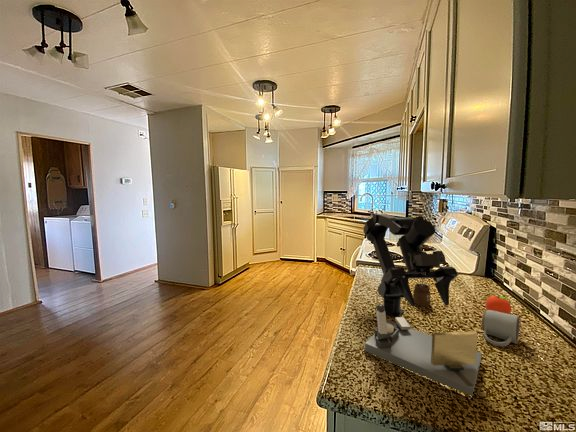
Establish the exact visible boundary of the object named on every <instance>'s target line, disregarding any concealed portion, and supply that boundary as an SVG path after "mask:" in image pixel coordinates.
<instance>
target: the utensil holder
mask: <svg viewBox="0 0 576 432" xmlns="http://www.w3.org/2000/svg"><path fill="white" fill-rule="evenodd" d="M419 280H421V283H420V282H418V283H415V284H414V289H413V291H412V292H413V294H412V296H413V299H414V303H415V305H417V306H421V307H428V306H430V304H431V291H430V290H431V287H430V285H428V284H426V283H427V281H426V278H419Z"/></svg>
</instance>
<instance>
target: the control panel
mask: <svg viewBox="0 0 576 432" xmlns="http://www.w3.org/2000/svg"><path fill="white" fill-rule="evenodd" d="M386 323H388V324H391V325H393V327H394V333H393V334H392V335H389V336H390V339H389V340H379V339H378V336H377V333H379V332H378V326H377V327H376V328H375V329H374V333H373V334H372V335H371V337H369V338H368V340H367V341H366V342H365V343H364V352H365V351H367V352H369V353H371V354H374V355H376V356H378V357H381V358H383V359H385V360H387V361H390V362H392V363H394V364H397V365H399V366H401V367H404V368H406V369H408V370H410V371H413V372H415V373H418V374H420V375H423V376H426V377H427V378H430V379H432V380H435V381H437V382H439V383H442V384H444V385H447V386H449V387H452V388H454V389H456V390H459V391H461V392H463V393H466V394H468V395H471V396H473V397H474V394H473V392H474V393H475V390H474V388H475V389H476V386H475V384H477V381H476V379H477V380H478V377H477V375H478V376H479V372H480V368H481V367H480V366H481V364H480V363H482V352H481V351H477V350H476V361H475V364H467V365H461V366H463V367H464V370H456V371H451V370H450V369H449V368H448V367H447V366H446V365H440V366H433V365H432V363H431V351H432V335H431V334H428V333H425V332H422V331H419V330H416V329H413V328H410V329H409V330H402V329H401V328H400V327H399V325H398V324H397V322H394V321H390V320H386ZM367 352H366V353H367ZM369 353H368V354H369ZM371 354H370V355H371ZM374 355H373V356H374ZM376 356H375V357H376ZM378 357H377V358H378ZM387 361H386V362H387ZM479 367H480V368H479ZM478 371H479V372H478Z"/></svg>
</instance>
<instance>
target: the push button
mask: <svg viewBox="0 0 576 432" xmlns="http://www.w3.org/2000/svg"><path fill="white" fill-rule="evenodd" d="M387 332H388V333H389V335H392V334H393V333H394V327H393V325H391V324H388V323H387Z"/></svg>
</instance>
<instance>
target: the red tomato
mask: <svg viewBox="0 0 576 432" xmlns="http://www.w3.org/2000/svg"><path fill="white" fill-rule="evenodd" d="M510 302H512V300H511V299H509V298H508V297H504V296H499V295H492V296H489V297H488V298H487V299H486V301H485V308H486V310H492V311H497V312H501V313H506V314H511V312H512V306H511V304H510Z"/></svg>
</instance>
